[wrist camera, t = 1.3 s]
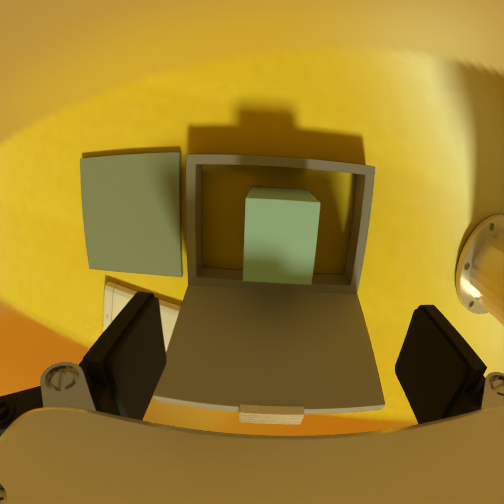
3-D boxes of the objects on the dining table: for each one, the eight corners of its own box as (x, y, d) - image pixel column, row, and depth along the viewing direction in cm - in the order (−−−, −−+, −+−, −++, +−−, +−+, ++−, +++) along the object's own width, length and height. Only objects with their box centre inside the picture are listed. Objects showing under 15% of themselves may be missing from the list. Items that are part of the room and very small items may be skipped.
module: (307, 189, 26) (320, 202, 19) (301, 252, 28) (311, 284, 21) (251, 186, 26) (245, 197, 20) (248, 249, 28) (242, 280, 21)
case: (365, 165, 25) (375, 166, 22) (350, 282, 29) (357, 293, 26) (193, 154, 25) (186, 154, 23) (194, 274, 29) (188, 284, 27)
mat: (181, 152, 25) (179, 152, 25) (182, 275, 29) (181, 276, 29) (82, 158, 26) (80, 158, 25) (91, 267, 30) (89, 268, 29)
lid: (388, 409, 16) (380, 419, 17) (358, 290, 26) (353, 303, 27) (149, 400, 16) (155, 410, 17) (187, 281, 26) (189, 294, 27)
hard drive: (212, 321, 30) (103, 285, 29) (197, 375, 32) (102, 341, 32) (214, 313, 31) (110, 278, 31) (199, 366, 34) (107, 334, 33)
